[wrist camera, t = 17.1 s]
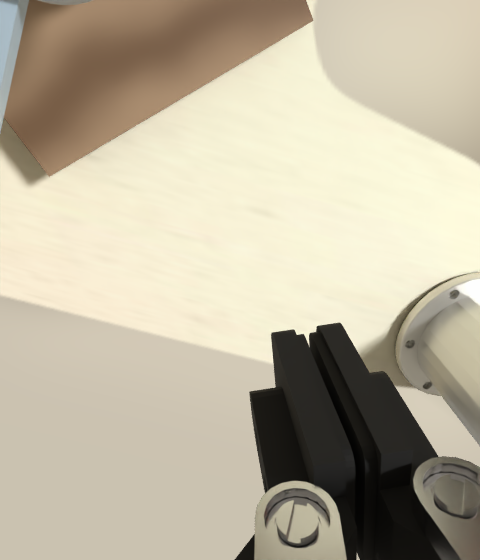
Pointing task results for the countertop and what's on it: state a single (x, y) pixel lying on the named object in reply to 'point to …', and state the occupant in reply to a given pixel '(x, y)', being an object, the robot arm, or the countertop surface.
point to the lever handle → (14, 40)
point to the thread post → (127, 64)
